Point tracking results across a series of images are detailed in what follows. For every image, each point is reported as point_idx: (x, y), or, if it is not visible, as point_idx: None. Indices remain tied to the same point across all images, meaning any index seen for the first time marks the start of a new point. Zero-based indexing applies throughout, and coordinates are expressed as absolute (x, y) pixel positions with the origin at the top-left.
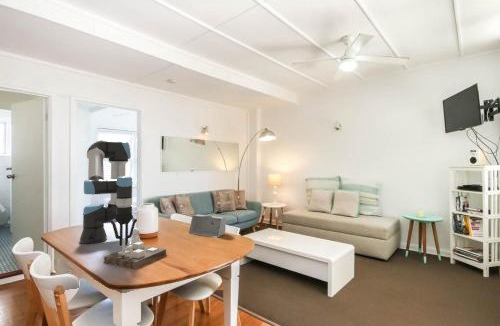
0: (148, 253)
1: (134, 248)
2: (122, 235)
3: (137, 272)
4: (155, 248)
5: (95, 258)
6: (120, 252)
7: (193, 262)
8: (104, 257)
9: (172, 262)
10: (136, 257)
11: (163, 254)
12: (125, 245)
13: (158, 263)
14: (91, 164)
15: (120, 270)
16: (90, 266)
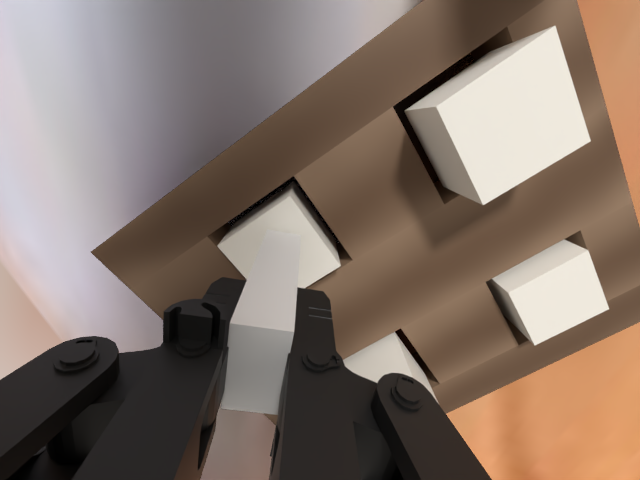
0: (479, 350)
1: (424, 135)
2: (202, 415)
3: None
4: (591, 297)
5: (6, 41)
6: (245, 260)
7: (627, 468)
8: (98, 251)
9: (544, 428)
10: None
11: None
12: (297, 269)
13: (472, 411)
14: None
15: (247, 417)
16: (30, 267)
